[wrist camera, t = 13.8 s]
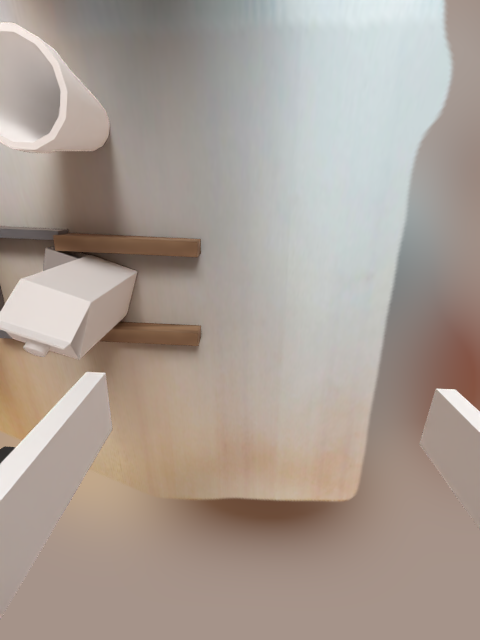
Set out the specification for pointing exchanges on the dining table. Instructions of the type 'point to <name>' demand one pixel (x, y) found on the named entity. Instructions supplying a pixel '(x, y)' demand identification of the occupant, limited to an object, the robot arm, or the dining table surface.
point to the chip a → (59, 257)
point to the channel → (144, 247)
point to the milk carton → (68, 306)
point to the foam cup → (44, 99)
